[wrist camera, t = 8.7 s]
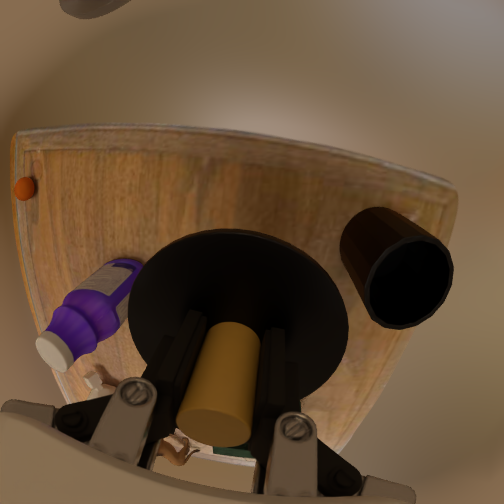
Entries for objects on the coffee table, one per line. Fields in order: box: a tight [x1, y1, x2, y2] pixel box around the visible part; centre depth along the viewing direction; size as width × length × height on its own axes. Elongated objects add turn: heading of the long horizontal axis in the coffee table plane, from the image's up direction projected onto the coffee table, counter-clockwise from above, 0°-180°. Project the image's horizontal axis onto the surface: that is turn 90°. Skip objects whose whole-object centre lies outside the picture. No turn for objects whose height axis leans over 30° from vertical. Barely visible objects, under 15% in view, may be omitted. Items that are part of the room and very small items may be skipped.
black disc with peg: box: [128, 229, 349, 447], centre depth 10 cm, size 10×10×6 cm
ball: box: [14, 177, 34, 201], centre depth 30 cm, size 4×4×4 cm
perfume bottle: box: [83, 371, 116, 400], centre depth 41 cm, size 9×9×12 cm
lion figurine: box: [157, 438, 200, 466], centre depth 45 cm, size 15×5×9 cm, turn 51°
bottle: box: [36, 259, 143, 372], centre depth 27 cm, size 7×6×17 cm
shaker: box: [340, 207, 454, 330], centre depth 26 cm, size 9×9×10 cm
